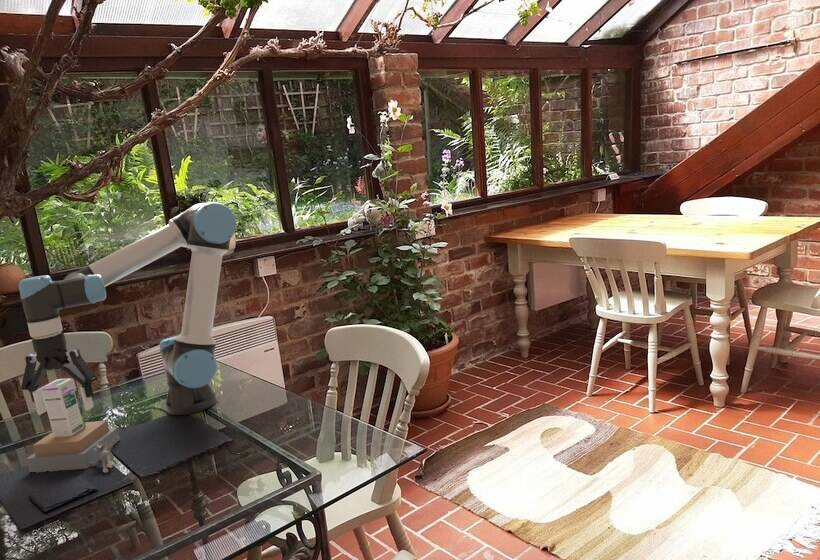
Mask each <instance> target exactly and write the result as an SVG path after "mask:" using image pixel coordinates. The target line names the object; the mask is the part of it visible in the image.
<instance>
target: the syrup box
mask: <svg viewBox="0 0 820 560" xmlns="http://www.w3.org/2000/svg"><path fill="white" fill-rule="evenodd" d="M40 388H41V391H42V394H43V398H44V402H45V405H46V409H47V411H46V412H47V416H48V419H49V423H50V427H51V430H52V431H51V432H53V435H54V437H69V436H73V435H74V434H76V433H77V432H79V431H80V430H82V429H84V428H85V427H86V424H85V422H86V421H85V417H84V413H83V410H82V406H81V403H80V402H81V401H80V398H79V394H78V391H77V387H76V382H75V379H74V378H73V377H64V378H59V379H55V380H53V381H51V382H49V383H47V384H45V385H43V386H40Z"/></svg>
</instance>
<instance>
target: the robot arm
mask: <svg viewBox="0 0 820 560" xmlns="http://www.w3.org/2000/svg"><path fill="white" fill-rule="evenodd" d="M236 230H237V218H236V215H235V214H234V212H233V211H232V210H231V209H230V208H229V207H228V206H227V205H225V204H224V203H220V202H217V201H206V202H199V203H195V204H194V205H192V206H191V207H188V209H185V211H182V212H181V213H179V214H178V215H176V216H174V217H173V218H170V219H169V220H168V224H167V225H164V226H163V227H161V228H158V229H157V230H155V231H153V232H151V233H148V234H147V235H145V236H143V237H141V238H139V239H137V240H135V241H133V242H132V243H130V244H128V245H126V246H124V247H122V248H119V249H117V250H116V251H113V252H112V253H110V254H108V255H106V256H104V257H103V258H100V259H98V260H96V261H94V262H92V263H91V264H88V265H87V266H85V267H83V268H81V269H79V270H76V271H73V272H70V273H69V274H67V275H66V276H65V277H64V278H63V280H53V279H52V278H51V276H50V275H48V274H45V275H38V276H32V277H27V278H24V279H21V280H20V281H19V283H18V289H19V294H20V300H21V304H22V308H23V312H24V314H25V318H26V324H27V327H28V332H29V336H30V337H31V338H32V340H31V344H32V347H33V351H34V352H35V353H36V354H35V353H30V354H28V355H26V356H25V358H24V359H25V368H24V372H23V377H22V382H21V385H20V389H21V390H22V391H25V390H26V391H28V392H29V393H30V397H31V401H32V403H34V404H35V409H36V412H37V415H38V416H41V415H42V414H44V413H46V412H47V409H46V405H45V402H44V398H43V394H42V391H41V386H40V385H41V383H42V381H43V379H44V378H45V376H46V373H47V372H48V371H51V370H61V371H65V372H66V373H67V374H68V375H69V376H71V378H73V379H74V381H76V382H78V384H80V386H79V389H80V395H81V398H82V404H83V407H84V411H86V412H87V411H89V410H91V409H92V408H94V402H93V397H92V396H94V391H93V387H92V384H93V383H94V382H96V381H97V380H98V377H97V376H96V373H94V372H93V370H92V369H91V368H90V366H89V365H88V364H87V362H86V361H85V360H84V358H83V357H82V355H81V353H80V349H79V348H75V349H73V350H70V351H69V350H67V341H66V337H65V333H64V332H63V324H62V321H61V316H60V315H61V314H60V312H59V311H60V310H64V309H67V308H73V307H78V306H79V307H80V306H83V305H89V304H90V305H91V304H96V303H99V302H101V301H102V302H103V301H105V300H106V298H107V292H106V291H107V290H106V287H107V286H109V285H111V284H113V283H115V282H117V281H119V280H121V279H122V278H125V277H126V276H128V275H130V274H132V273H133V272H136V271H138V270H140V269H142V268H143V267H145V266H147V265H149V264H151V263H153V262H155V261H157V260H158V259H160V258H163V257H164V256H166V255H168V254H169V253H172V252H174V251H176V250H178V249H179V248H181V247H182V248H189V249H190V251H191V258H190V265H189V273H188V280H187V286H186V287H187V288H186V294H185V301H184V309H183V317H182V322H181V323H182V325H181V331H180V333H179V334H177V335H176V336H175V335H174V336H170V337H168V338H164V339H162V340H161V341H160V342H159V352H160V355H161V359H162V364H163V370H164V375H165V377H166V378H165V380H166V383H167V394H166V401H165V408H166V413H167V414H169V415H172V416H184V415H190V414H194V413H199V412H201V411H204V410H206V409H208V408H210V407H212V406H213V405H215V404H216V402H217V401H218V400H217V395H216V394H217V393H216V392H215V390H214V389H213V387H212V385H211V384H210V382H212V381H213V379H214V377H215V376H216V373H217V370H218V366H217V359H216V357H215V353H216V346H217V345H216V344H217V341H216V339H214V337H213V328H214V319H215V315H216V314H215V312H216V305H217V299H218V291H219V286H220V285H219V284H220V278H221V271H222V270H221V269H222V262H223V256H224V255H226V254H227V253H228V252H229V251H230V250H229V249H230V245H231V244H230V242H231V239H232V238H233V237H234V234H235V233H236ZM37 362H38V363H39V365H38V367H37ZM36 367H37V369H36ZM36 370H37V371H36ZM35 371H36V372H35Z"/></svg>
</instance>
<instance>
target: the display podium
mask: <svg viewBox="0 0 820 560" xmlns="http://www.w3.org/2000/svg"><path fill="white" fill-rule="evenodd" d="M108 423H109V422H108V420H99V421H87V422H86V421H85V424H86V427H85V428H84V429H82V430H80V431H79V432H77V433H76V434H74V435H73V436H69V437H54V435H53V431H51V432H50V433H49V434H47V435H46V436H44V437H43V438H41V439H40V440H39V441H36V442H35V443H34V444H33V445H32V446H33V447H32V448H33V452H34V453H33V454H31V455H29V456H28V457H27V458H26V463H27V466H28V471H29V473H30V472H36V473H47V472H46V471H49V472H60V470H61V471H70V470H81V469H88V468H89V467H91V465H92V464H93V463H94V462H95V461H96V460H97V459H98V458H99V456H100V453H101V450H100V452H98V453H97V452H96V450H94V449H93V448H95V449H96V445H98V444H102V443H103V442H104V441H105V440H107V441H106V445H107V447H108V446H109V445H111V444H112V443H113V440H115V439H116V438H119V439H120V440H121V437H120V433H119V428H118V427H112V428H111V427H109V426H110V425H109V424H108ZM92 462H93V463H92Z"/></svg>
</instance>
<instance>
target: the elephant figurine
mask: <svg viewBox="0 0 820 560" xmlns="http://www.w3.org/2000/svg"><path fill="white" fill-rule="evenodd" d="M118 440H119V438H116V439H115V440H113V443H112V444H111V445H109V446H108V447H107V445H106V441H107V440H105V441H104V442H103V443H102V444H98V445H96V449H95V448H93V449H94V450H96V452H97V453H98V452H100V450H101V453H100V456H99V458H98V459H97V460H96V461H95V462H94V463H93V462H92V463H93V464H92V465H90V467H95V466H97V464H98V463H99V461H101V464H102V472H103V473H105V474H106V473H109V468H110V469H111V468H113V467H114V465H113V464H114V463H115V465H118V464H117V461H116V460H115V459H114V455H113V452H112V449H113V448H114V447H113V445H114V444H115V443H116V442H117V441H118ZM112 462H113V463H112Z"/></svg>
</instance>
